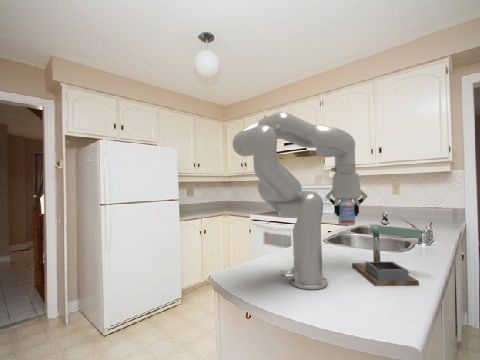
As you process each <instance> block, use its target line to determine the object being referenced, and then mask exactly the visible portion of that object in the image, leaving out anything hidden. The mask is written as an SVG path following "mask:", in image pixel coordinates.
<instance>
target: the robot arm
mask: <svg viewBox="0 0 480 360" xmlns="http://www.w3.org/2000/svg"><path fill="white" fill-rule="evenodd" d="M278 140H283V141H285V142H289V143H291V144H293V145H296V146H298V147H302V148H306V149H307V148H308V149H315V150H316V153H317V154H318V155H319V156H320V157H322V158H333V157H334V167H331V169H330V171H331V172H334V174H332V175H333V176H332V184H331V190H330V191H329V192H328V193H327V194H326V195H325V198H326V199H327V200H328V201H329V202H330V203H331V204H332V205H334V215H336V217H338V216H339V206H338V203H339V202H340V199H352V202H354V204H355V217H358V215H359V214H360V205H361V204H362V203H363V202H364V201H365V200H366V199H367V198H368V194H367V193H365V192H364V191H363V190H362V189H361V181H360V175H359V173H358V172H356V171H357V170H356V140H355V139H354V137H353V136H352V134H350V133H348V132H347V131H345V130H343V129H341V128H337V127H333V126H326V125H320V124H312V123H310V122H308V121H306V120H303V119H302V118H299V117H297V116H295V115H293V114H291V113H288V112H286V111H279V112H275V113H273V114H271V115H267V116H265V117H263V118H261V119H260V120H257V121H256V122H254V123H253V124H251V125H249V126H247V127H246V128H244V129H242V130H241V131H239V132H237V133H236V134H235V136H234V137H233V140H232V148H233V151H234V152H235V153H236V154H237V155H238V156H240V157H251V156H252V157H253V160H252V161H253V171H254V174H255V176H256V177H257V179H259V181H258V183H257V191H258V194H259V196H260V197H261V199H262V200H263V201H264V202H265V203H267V204H268V205H269V206H270V207H271V208H273V210H275V211H276V212H278V214H280V215H281V216H284V217H288V218H296V221H295V223H294V225H293V229H292V244H293V246H292V247H293V266H292V269H289V270H280V277H284V278H285V279H289V283H290V284H291V285H292V286H294V287H296V288H299V289H302V290H309V291H310V290H321V289H324V288H326V287H327V286H328V284H329V283H328V279H327V278H326V277H324V276H323V273H324V272H323V251H322V250H323V247H322V246H323V245H322V219H323V212H324V200H323V198H322V197H321V196H320V194H318V193H316V192H313V191H310V190H308V191H307V190H305V191H304V190H303V189H302V184H301V183H300V180H299V179H297V177H295V175H294V174H293V173H292V172H290V170H288V168H286V167H285V165H284V164H283V163H281V161H280V160H279V158H278V153H277V149H278V148H277V145H278ZM331 196H332V197H333V198H334V199H333V198H332V197H331Z"/></svg>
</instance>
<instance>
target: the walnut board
mask: <svg viewBox="0 0 480 360" xmlns="http://www.w3.org/2000/svg"><path fill="white" fill-rule="evenodd" d="M351 267H352V268H353V269H354V270H355V271H356V272H358V273H359V274H360V275H361V276H362V277H364V278H365V279H366V280H367V281H368V282H370V283H371V284H372V285H373V286H376V287H391V286H392V287H404V286H408V287H409V286H414V287H415V286H420V282H419V281H420V280H418V279H416V278H415V277H413V276H411V275H409V274H408V281H378V280H376V279H375V278H374V277H372V276H371V275H370V274H368V273H367V272H366V263H365V262H352V263H351Z"/></svg>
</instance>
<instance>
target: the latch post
mask: <svg viewBox="0 0 480 360" xmlns="http://www.w3.org/2000/svg"><path fill="white" fill-rule="evenodd" d="M380 238H381V237H380V234H374V233H372V252H373V254H372V255H373V256H372V257H373V262H381V245H380V244H381V241H380Z"/></svg>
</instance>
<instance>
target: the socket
mask: <svg viewBox="0 0 480 360" xmlns="http://www.w3.org/2000/svg"><path fill="white" fill-rule="evenodd" d="M364 263H366V272H367V273H368V274H370V275H371V276H372V277H374V278H375V279H376V280H378V281H408V275H409V270H408V269H407V268H405V267H403V266H401V265H400V264H398V263H396V262H394V261H380V262H374V261H365V262H364Z"/></svg>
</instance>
